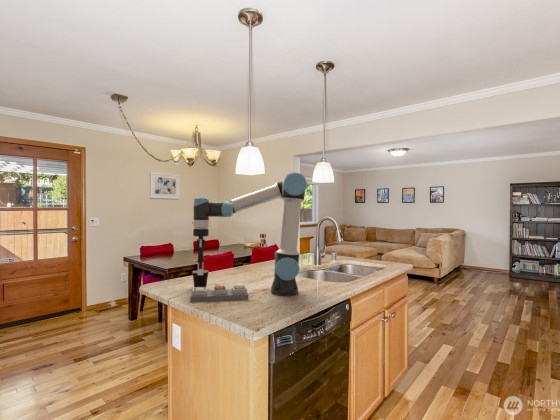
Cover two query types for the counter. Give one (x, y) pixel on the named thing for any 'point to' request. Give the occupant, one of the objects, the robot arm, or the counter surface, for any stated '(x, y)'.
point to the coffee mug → (200, 278)
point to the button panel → (218, 294)
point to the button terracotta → (219, 287)
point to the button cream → (239, 286)
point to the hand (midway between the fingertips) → (200, 274)
